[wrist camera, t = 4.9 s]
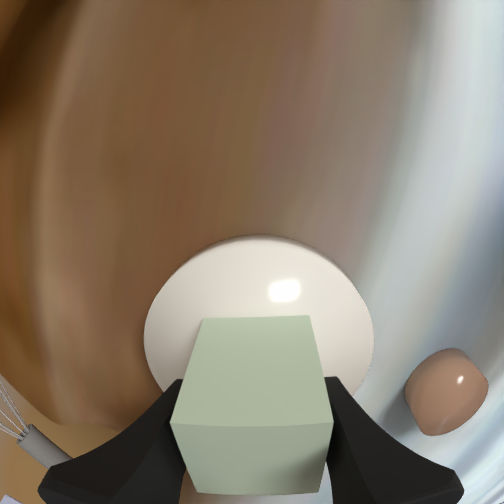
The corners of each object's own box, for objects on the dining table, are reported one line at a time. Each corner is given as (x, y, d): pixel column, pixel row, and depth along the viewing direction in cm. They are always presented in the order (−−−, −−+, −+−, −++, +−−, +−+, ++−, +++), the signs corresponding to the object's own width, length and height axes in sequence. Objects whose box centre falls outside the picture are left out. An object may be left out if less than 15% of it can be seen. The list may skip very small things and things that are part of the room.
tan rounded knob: (477, 345, 16) (500, 370, 13) (450, 402, 18) (467, 429, 15) (418, 348, 16) (438, 378, 13) (393, 409, 18) (406, 440, 15)
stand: (382, 245, 14) (398, 258, 12) (338, 413, 18) (343, 436, 16) (152, 225, 15) (137, 235, 13) (163, 400, 18) (155, 421, 16)
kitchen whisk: (140, 515, 25) (127, 556, 19) (-72, 282, 17) (-113, 306, 11) (177, 512, 23) (167, 559, 17) (-60, 249, 16) (-110, 273, 10)
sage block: (309, 314, 13) (333, 421, 7) (305, 390, 15) (318, 492, 9) (203, 318, 13) (169, 422, 8) (215, 392, 15) (197, 492, 9)
